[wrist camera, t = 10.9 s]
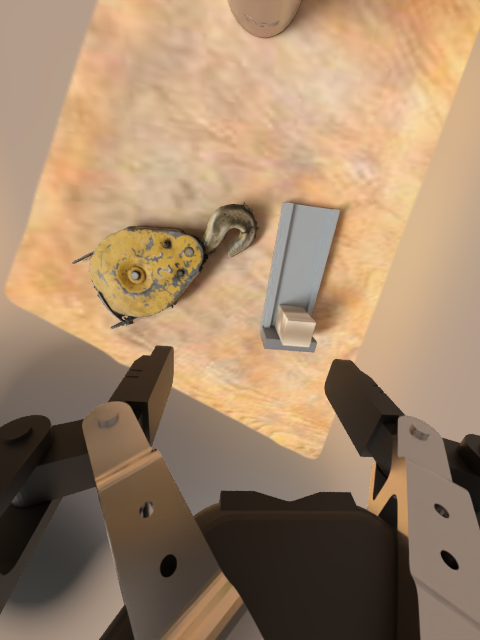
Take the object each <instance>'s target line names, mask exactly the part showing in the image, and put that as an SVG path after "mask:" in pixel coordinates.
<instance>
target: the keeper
mask: <svg viewBox="0 0 480 640" xmlns="http://www.w3.org/2000/svg"><path fill="white" fill-rule="evenodd" d="M315 325H316V322H315V321H314V320H313V319H312V318H311V316H310V315H309V314H308V313H307V312H306V311H305V310H304V308H303V307H298V306H287V305H279V307H278V312H277V317H276V322H275V329H276V331H277V333H278V335H279V337H280V340H281V342H282V344H283V345H286V346H299V347H309V346H310V343H311V339H312V336H313V332H314V329H315Z"/></svg>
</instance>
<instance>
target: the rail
mask: <svg viewBox="0 0 480 640" xmlns="http://www.w3.org/2000/svg"><path fill="white" fill-rule="evenodd" d="M339 214H340V210H337V209H326V208H319V207H312V206H305V205H298V204H294V203H288V202H287V203H282V208H281V214H280V219H279V225H278V231H277V236H276V242H275V248H274V254H273V259H272V265H271V271H270V276H269V282H268V288H267V294H266V299H265V305H264V311H263V316H262V322H261V328H260V335H261V338H262V342H263V345H264V349H276V350H289V351H302V352H314V351H315V348H316V345H317V342H316V340H315V339H314V338H313V336H312V339H311V343H310V346H309V347H299V346H286V345H283V344H282V342H281V340H280V337H279V335H278V333H277V331H276V329H275V322H276V317H277V312H278V307H279V305H287V306H298V307H303V308H304V310H305V311H306V312H307V313H308V314H309V315H310V316H311V317H312V313H313V309H314V306H315V302H316V298H317V295H318V291H319V287H320V284H321V280H322V276H323V273H324V269H325V265H326V261H327V258H328V254H329V250H330V247H331V243H332V239H333V236H334V232H335V228H336V225H337V221H338V217H339Z"/></svg>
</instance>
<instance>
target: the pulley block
mask: <svg viewBox="0 0 480 640" xmlns="http://www.w3.org/2000/svg"><path fill="white" fill-rule="evenodd" d="M232 228H237V229H239V230H240V234H239V236H238V238H237V239H236V240H234V241H233V243H232V244H231V245H230V246H229V248H228V250H227V254H228V256H229V257H233V256H234V255H236V254H237V253H239V252H241V251H243V250H244V249H246V248H248V247H249V246H250V245H251V244H252V242H253V240H254V239H255V236H256V231H257V229H258V227H257V221H256V220H255V217H254V215H253V214H252V209H250V208H249V207H248V206H247V205H245V203H244V204H243V205H237V204H230V205H226V206H223V207H220V208H219V209H217V210H216V211H215V212H214V213H213V214H212V216H211V218H210V220H209V222H208V225H207V229H206V232H205V233H204V235H203V236H202V237H201V238H200V239H199V238H197V237H195V236H193V235H189V234H186V233H185V232H184V231H182V230H181V229H174V228H160V227H137V226H130V227H127V228H125V229H123V230H121V231H119V232H116V233H114V234H111V235H110V236H108V237H107V238H105V239H104V240H103V241H102V242H101V243H100V244H99V246H98V247H97V248H96V249H95V251H94V252H92V253H89V254H87V255H85V256H83V257H81V258H80V259H78V260H75V261H74V262H73V264H75V263H77V262H79V261H81V260H83V259H84V258H86V257H89V256H92V255H93V256H92V258H91V262H90V266H89V274H90V277H91V279H92V282H93V283H94V288H96V290H97V292H98V295H97V296H98V297H99V298H100V299H101V300H102V302H103V304H104V305H105V306H106V308H107V309H108V310H109V311H110V312H111V313H112V314H113V315H114V316H116V317H117V318H118V319H119V320H120V321H121V322H120V323H118V324H116V325H114V326H112V327H111V328H112V329H113V328H115V327H120V326H121V325H122V326H124V324H126V325H129V324H133V319H135V318H137V317H143V316H151V315H153V314H156V313H159V312H161V311H163V310H164V309H166V308H168V307H170V306H172V308H173V305H176V304H177V302H178V300H179V298H180V297H181V295H182V294H183V293H184V292H185V291H186V289H187V288H188V287H189V285H190V284H191V283H192V282H193V281H194V279H195V278H196V277H197V276H198V275H199V273H200V272H201V270H202V268H203V267H202V265H203V264H204V263H205V262H206V261H207V260H206V259H208V255H207V254H210V255H213V254H214V253H215V249H216V247H217V246H218V245H219V244H220V243H221V242H222V241H223V240H224V239H225V237H226V235H227V233H228V231H229V230H230V229H232ZM125 315H127V316H128V318H125V317H124V318H125V320H123V319H122V316H125Z"/></svg>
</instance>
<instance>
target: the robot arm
mask: <svg viewBox="0 0 480 640" xmlns="http://www.w3.org/2000/svg"><path fill="white" fill-rule="evenodd" d="M228 2H229V5H230V7H231V10H232V13H233V14H234V16H235V18H236V20H237V21H238V23H239V24H240V25H241V26H242V27H243V28H244V29H245V30H246V31H248V32H249V33H250V34H252V35H255V36H257V37H266V38H267V37H271V36H275V35H276V34H278V33H280V32H282V31H283V30H284V29H285V28H286V27H287V26H288V25H289V24H290V22H291V21H292V20H293V18H294V17H295V15H296V13H297V10H298V8H299V6H300V3H301V0H228ZM173 375H174V350H173V347H171V346H156V347H155V349H154V350H153V352H152V354H151V356H147V355H143V356H141V357H140V358H139V359H137V360H136V361H134V363H133V364H132V366H131V367H130V369H129V371H128V372H127V374H126V375H125V377H124V378H123V380H122V381H121V383H120V384H119V386H118V388H117V389H116V390H115V392H114V394H113V395H112V397H111V398H110V400H109V401H108V403H104V404H102V405H100V406H97V407H96V408H94V409H93V410H91V411H90V412H89V413H88V414H87V415H86V416H85V418H84V419H82V420H78V421H74V422H69V423H64V424H59V425H54V426H52V425H51V422H50V420H49V419H48V418H47V417H45V416H41V415H31V416H26V417H21V418H19V419H16V420H13V421H11V422H9V423H7V424H5V425H3V426H2V427H0V614H1V612H2V610H3V608H4V606H5V604H6V602H7V601H8V599H9V597H10V595H11V593H12V591H13V589H14V587H15V586H16V584H17V582H18V580H19V578H20V576H21V574H22V572H23V570H24V569H25V567H26V565H27V563H28V561H29V559H30V557H31V555H32V554H33V552H34V550H35V548H36V546H37V544H38V542H39V541H40V539H41V537H42V535H43V533H44V531H45V529H46V527H47V525H48V524H49V522H50V520H51V518H52V516H53V514H54V512H55V511H56V509H57V507H58V505H59V503H60V501H61V499H62V497H63V496H67V495H70V494H74V493H77V492H80V491H83V490H87V489H90V488H93V487H96V489H97V493H98V498H99V502H100V506H101V510H102V514H103V518H104V522H105V527H106V531H107V534H108V539H109V543H110V547H111V551H112V555H113V560H114V564H115V568H116V573H117V576H118V580H119V585H120V589H121V593H122V597H123V601H124V606H123V608H122V609H121V610H120V612H119V613H118V615H117V616H116V617H115V619H114V620H113V621H112V623H111V624H110V625H109V627H108V628H107V630H106V631H105V632H104V634H103V635H102V636H101V638H100V639H99V640H480V436H478V435H474V434H468V435H466V436H465V437H464V439H463V440H462V442H461V443H458V442H455V441H451V440H448V439H444V438H442V437H441V436H440V435H439V433H438V432H437V431H436V430H435V429H434V428H432V427H431V426H430V425H428V424H427V423H425V422H423V421H421V420H420V419H417V418H415V417H411V416H405V415H404V413H403V412H402V411H401V410H400V409H399V408H398V407H397V406H396V405H395V404H394V402H393V401H392V400H391V399H390V398H389V397H388V396H387V395H386V394H385V393H384V392H383V390H382V389H381V388H380V387H378V385H377V384H376V383H375V382H374V381H373V379H372V378H370V377H369V376H368V375H366V374H365V373H363V372H362V371H360V370H359V368H358V367H357V366H356V365H355V364H354V363H353V362H352V361H351V360H341V359H335V360H334V361H333V362H332V365H331V368H330V370H329V373H328V376H327V379H326V382H325V394H326V396H327V398H328V400H329V402H330V403H331V405H332V407H333V409H334V411H335V412H336V414H337V416H338V418H339V419H340V421H341V423H342V425H343V426H344V428H345V430H346V432H347V434H348V435H349V437H350V439H351V441H352V442H353V444H354V446H355V448H356V449H357V451H358V453H359V455H360V456H361V457H373V458H374V459H375V462H374V464H373V466H372V472H371V481H370V489H369V490H370V491H369V498H368V506H367V510H366V509H364V508H362V507H359V506H357V505H356V504H355V501H354V499H353V497H352V495H351V493H349V492H319V493H316V494H313V495H310V496H307V497H304V498H301V499H298V500H295V501H285V500H281V499H278V498H274V497H272V496H268V495H265V494H261V493H258V492H255V491H221V493H220V501H219V503H217V504H214V505H211V506H209V507H207V508H205V509H203V510H202V511H200V512H199V513H197V514H196V515H195V516H193V515H192V513H191V511H190V509H189V507H188V505H187V503H186V502H185V500H184V498H183V496H182V494H181V492H180V491H179V488H178V486H177V484H176V482H175V480H174V479H173V477H172V475H171V473H170V471H169V469H168V467H167V465H166V463H165V461H164V459H163V458H162V456H161V454H160V452H159V451H158V450H157V449H155V450H152V449H151V447H152V444H153V441H154V438H155V435H156V432H157V429H158V426H159V423H160V420H161V417H162V414H163V411H164V408H165V405H166V402H167V399H168V396H169V393H170V390H171V387H172V383H173Z"/></svg>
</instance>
